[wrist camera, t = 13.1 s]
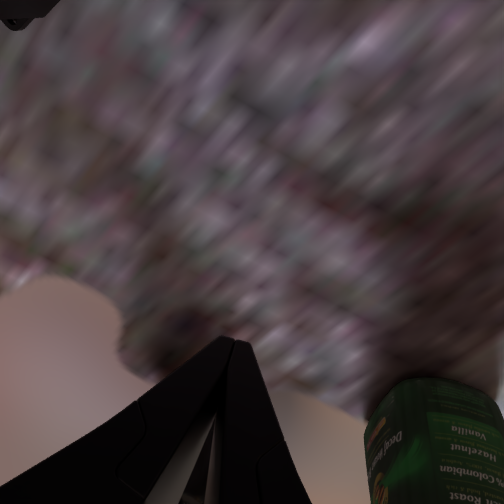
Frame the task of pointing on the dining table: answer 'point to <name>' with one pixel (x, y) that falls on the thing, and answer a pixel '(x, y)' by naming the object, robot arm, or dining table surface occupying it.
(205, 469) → the supplement bottle
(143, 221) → the dining table surface
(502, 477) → the coffee jar
